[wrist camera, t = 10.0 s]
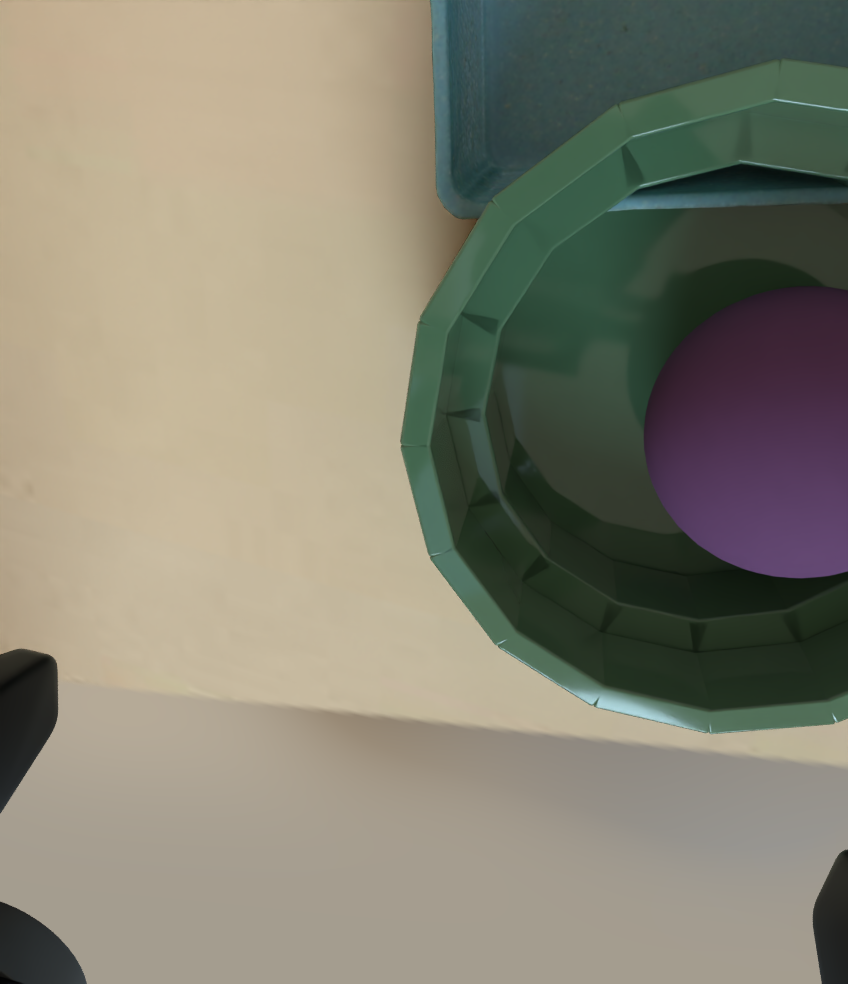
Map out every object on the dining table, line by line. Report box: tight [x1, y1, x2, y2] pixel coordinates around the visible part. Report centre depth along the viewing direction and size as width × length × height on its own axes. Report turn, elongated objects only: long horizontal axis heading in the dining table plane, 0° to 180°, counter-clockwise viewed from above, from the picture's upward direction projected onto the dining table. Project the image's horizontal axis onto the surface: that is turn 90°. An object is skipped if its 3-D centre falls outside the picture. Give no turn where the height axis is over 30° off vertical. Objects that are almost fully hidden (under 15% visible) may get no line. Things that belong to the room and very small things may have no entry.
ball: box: [644, 286, 848, 578], centre depth 15 cm, size 6×6×6 cm
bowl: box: [400, 58, 848, 734], centre depth 16 cm, size 12×12×5 cm
